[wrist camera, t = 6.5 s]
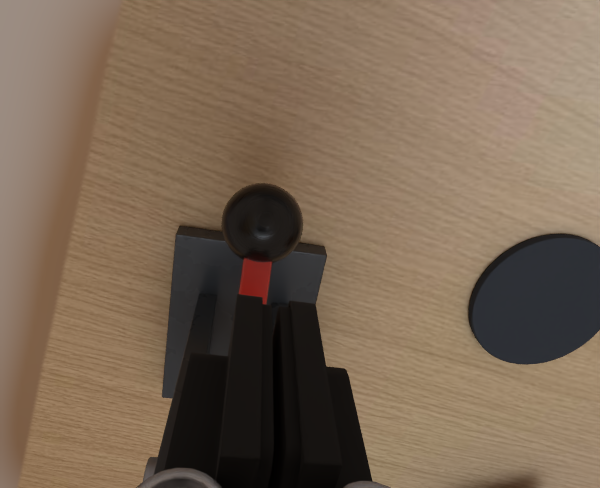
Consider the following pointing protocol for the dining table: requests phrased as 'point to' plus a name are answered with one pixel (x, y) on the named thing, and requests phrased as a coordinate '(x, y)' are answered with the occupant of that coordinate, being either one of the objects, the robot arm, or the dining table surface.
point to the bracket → (219, 305)
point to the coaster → (538, 299)
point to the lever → (261, 232)
